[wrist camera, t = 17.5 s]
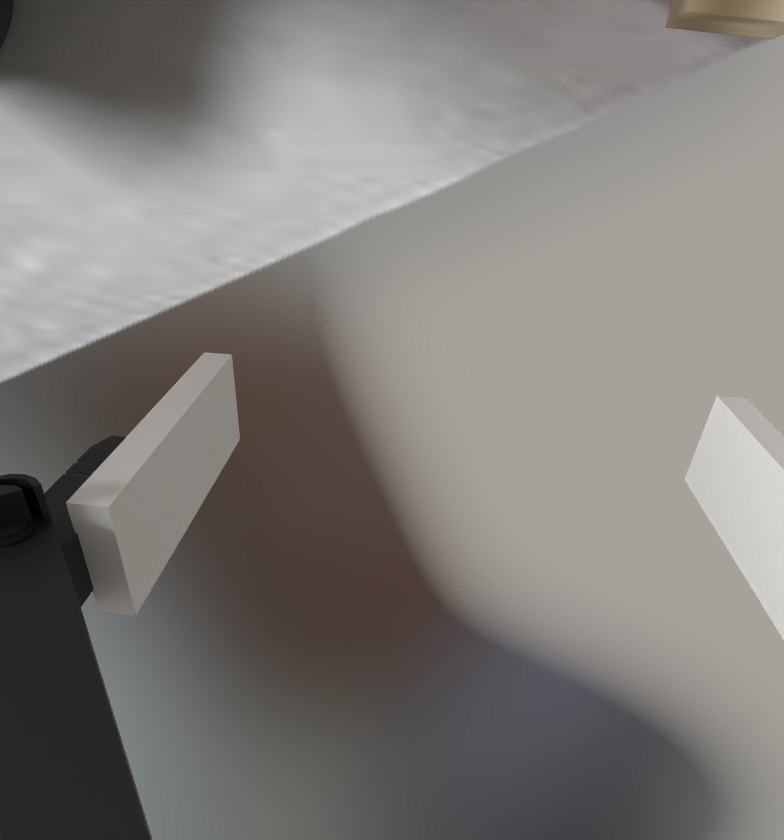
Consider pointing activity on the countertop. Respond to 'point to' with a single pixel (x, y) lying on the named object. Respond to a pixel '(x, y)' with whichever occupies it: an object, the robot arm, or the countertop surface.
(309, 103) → the countertop surface
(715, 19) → the slat
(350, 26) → the countertop surface
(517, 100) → the countertop surface
